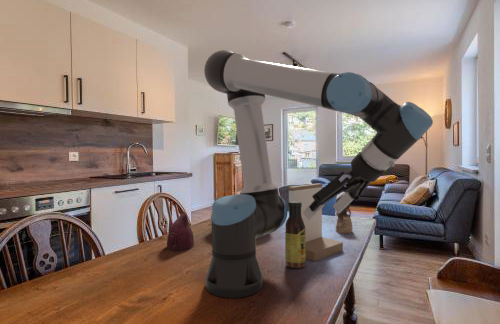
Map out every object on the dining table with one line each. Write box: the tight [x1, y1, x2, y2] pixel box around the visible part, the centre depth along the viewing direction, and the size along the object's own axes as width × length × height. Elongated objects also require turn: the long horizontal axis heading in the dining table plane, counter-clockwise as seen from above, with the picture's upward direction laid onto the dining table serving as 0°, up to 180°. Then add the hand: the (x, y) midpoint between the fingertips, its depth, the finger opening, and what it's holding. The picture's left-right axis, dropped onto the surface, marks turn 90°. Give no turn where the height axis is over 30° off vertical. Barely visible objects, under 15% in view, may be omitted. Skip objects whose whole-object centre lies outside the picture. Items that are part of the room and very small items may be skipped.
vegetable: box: [166, 211, 195, 252], centre depth 112 cm, size 10×10×15 cm
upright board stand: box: [287, 182, 344, 262], centre depth 105 cm, size 17×11×23 cm, turn 130°
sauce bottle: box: [284, 201, 307, 269], centre depth 93 cm, size 6×6×20 cm
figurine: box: [335, 204, 353, 234], centre depth 132 cm, size 7×7×12 cm
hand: (321, 212), depth 85 cm, fingers open, 13 cm apart
